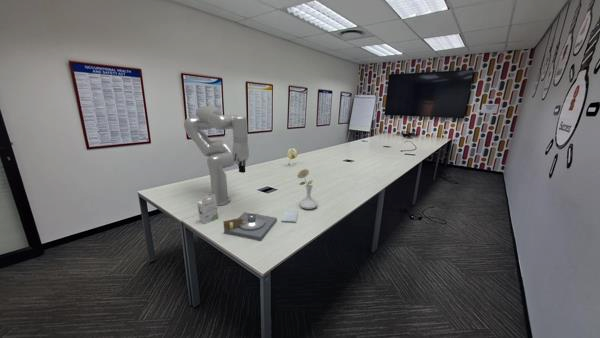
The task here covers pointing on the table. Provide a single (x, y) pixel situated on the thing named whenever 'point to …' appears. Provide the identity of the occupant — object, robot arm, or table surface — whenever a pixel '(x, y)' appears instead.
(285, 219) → the hard drive
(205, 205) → the ink box
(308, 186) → the flower in vase
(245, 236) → the base plate
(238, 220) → the wooden handled frying pan
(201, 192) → the table surface
